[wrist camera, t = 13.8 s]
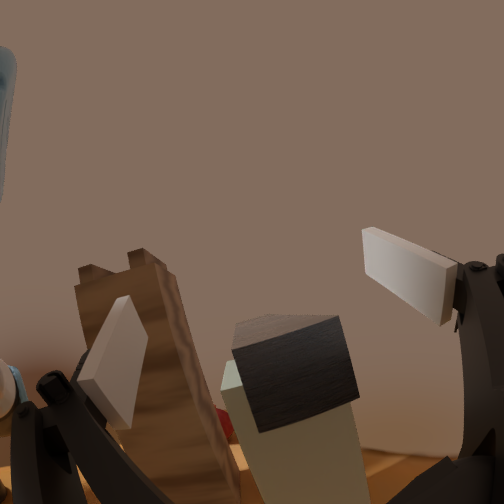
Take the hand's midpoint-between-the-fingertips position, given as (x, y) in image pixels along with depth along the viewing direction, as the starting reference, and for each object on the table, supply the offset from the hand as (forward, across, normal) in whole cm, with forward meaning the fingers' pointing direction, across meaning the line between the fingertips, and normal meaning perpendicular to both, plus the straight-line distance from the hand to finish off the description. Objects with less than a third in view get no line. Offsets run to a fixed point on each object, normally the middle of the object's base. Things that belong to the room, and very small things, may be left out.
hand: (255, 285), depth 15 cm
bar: (+2, 0, -7) cm, 7 cm away
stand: (+3, -13, -30) cm, 33 cm away
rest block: (-7, 0, -24) cm, 25 cm away
